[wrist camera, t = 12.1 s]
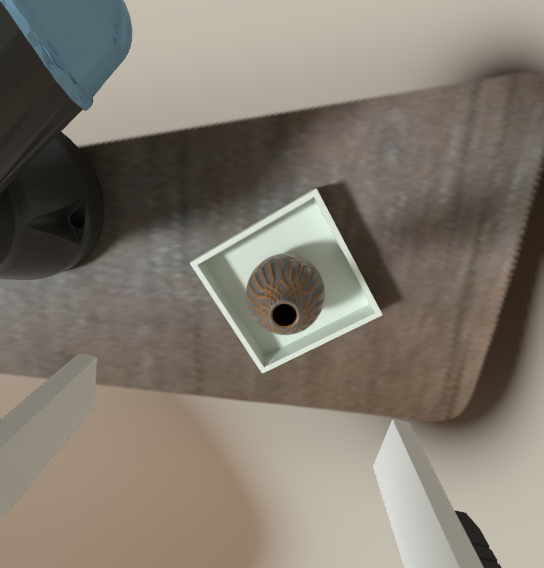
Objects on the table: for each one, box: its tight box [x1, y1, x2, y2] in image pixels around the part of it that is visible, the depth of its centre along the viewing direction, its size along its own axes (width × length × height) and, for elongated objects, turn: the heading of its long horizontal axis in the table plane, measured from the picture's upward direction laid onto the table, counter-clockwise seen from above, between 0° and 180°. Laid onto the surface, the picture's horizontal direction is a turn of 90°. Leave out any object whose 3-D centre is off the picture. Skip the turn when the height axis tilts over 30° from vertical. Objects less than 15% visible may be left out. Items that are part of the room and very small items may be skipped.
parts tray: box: [190, 188, 382, 373], centre depth 32 cm, size 13×13×3 cm
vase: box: [246, 254, 325, 335], centre depth 28 cm, size 7×7×9 cm
